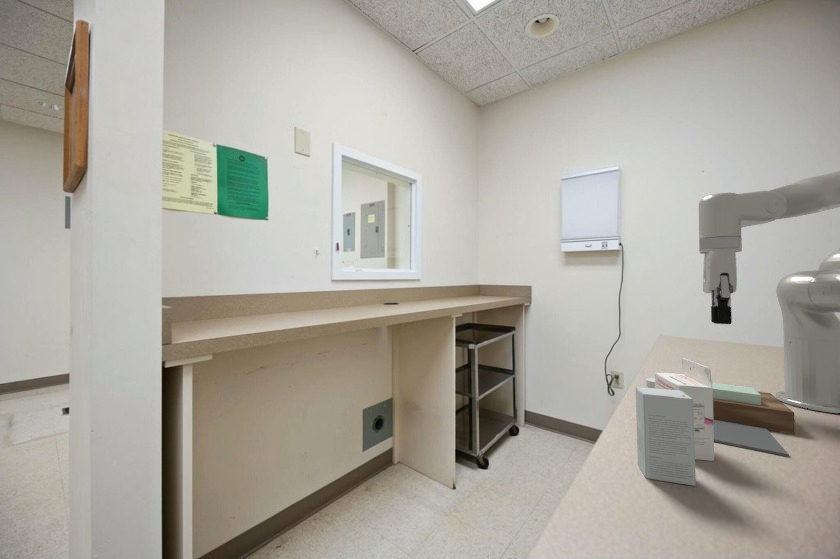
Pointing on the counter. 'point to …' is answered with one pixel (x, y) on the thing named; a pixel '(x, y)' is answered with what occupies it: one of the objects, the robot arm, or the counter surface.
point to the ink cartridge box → (695, 403)
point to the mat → (747, 437)
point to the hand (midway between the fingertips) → (721, 322)
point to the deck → (756, 413)
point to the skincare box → (665, 435)
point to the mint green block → (736, 393)
